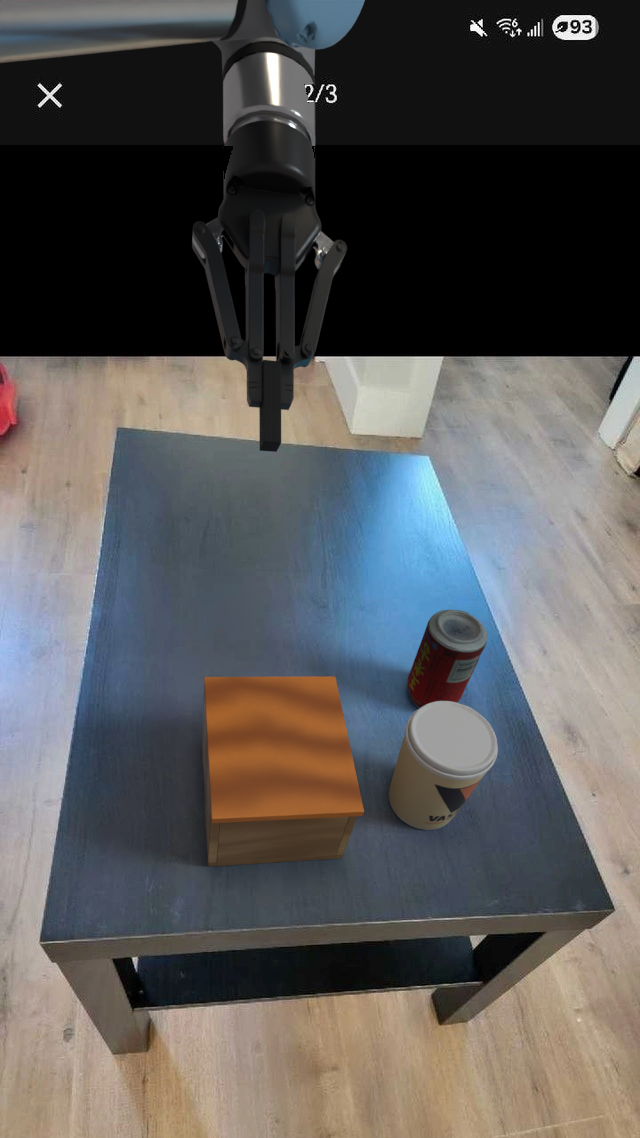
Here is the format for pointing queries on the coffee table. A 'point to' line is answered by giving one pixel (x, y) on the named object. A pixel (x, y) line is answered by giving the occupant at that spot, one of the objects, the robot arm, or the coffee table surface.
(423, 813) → the coffee cup
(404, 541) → the coffee table surface
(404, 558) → the coffee table surface
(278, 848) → the chest
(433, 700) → the soda can
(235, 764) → the lid
